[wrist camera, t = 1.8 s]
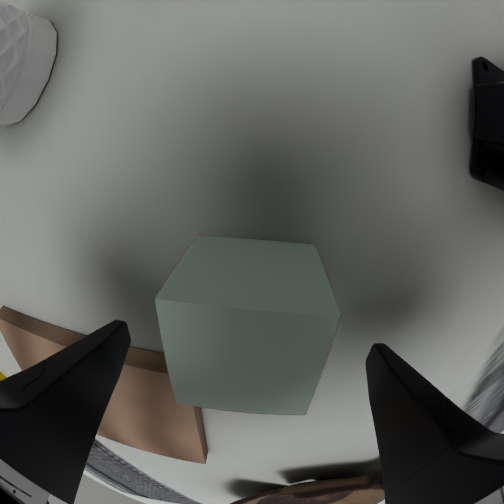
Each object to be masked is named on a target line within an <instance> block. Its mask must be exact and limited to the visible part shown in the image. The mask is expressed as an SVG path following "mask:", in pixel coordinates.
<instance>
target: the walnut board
mask: <svg viewBox="0 0 504 504" xmlns="http://www.w3.org/2000/svg"><path fill="white" fill-rule="evenodd" d="M0 331H1V333H2V335H3V337H4V339H5V341H6V343H7V345H8V347H9V348H10V350H11V352H12V354H13V356H14V357H15V359H16V361H17V363H18V364H19V366H20V368H21V369H22V371H23V370H25V369H27V368H29V367H31V366H33V365H35V364H37V363H39V362H40V361H42V360H44V359H46V358H48V357H49V356H51V355H53V354H55V353H57V352H58V351H60V350H62V349H64V348H66V347H67V346H69V345H71V344H73V343H75V342H76V341H78V340H80V339H82V338H84V337H85V336H86V335H83V334H79V333H76V332H73V331H70V330H66V329H63V328H60V327H57V326H54V325H51V324H48V323H45V322H43V321H40V320H37V319H34V318H32V317H29V316H26V315H24V314H21V313H19V312H16V311H14V310H11V309H9V308H7V307H4V306H3V307H2V308H1V309H0ZM97 435H100V436H102V437H105V438H108V439H110V440H113V441H116V442H119V443H122V444H125V445H128V446H131V447H134V448H137V449H141V450H144V451H148V452H151V453H155V454H159V455H163V456H167V457H171V458H176V459H180V460H185V461H191V462H196V463H202V464H206V459H207V454H208V449H207V444H206V438H205V432H204V426H203V420H202V414H201V407H197V406H191V405H185V404H180V403H176V402H175V398H174V394H173V390H172V386H171V381H170V377H169V373H168V368H167V364H166V359H165V354H163V353H158V352H153V351H148V350H143V349H138V348H134V347H129V349H128V352H127V355H126V359H125V362H124V365H123V368H122V371H121V374H120V377H119V380H118V382H117V384H116V387H115V389H114V391H113V394H112V396H111V399H110V401H109V403H108V406H107V408H106V411H105V413H104V416H103V418H102V421H101V423H100V426H99V429H98V431H97Z"/></svg>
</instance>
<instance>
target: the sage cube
mask: <svg viewBox="0 0 504 504" xmlns="http://www.w3.org/2000/svg"><path fill="white" fill-rule="evenodd" d="M155 303H156V310H157V316H158V322H159V328H160V333H161V339H162V344H163V349H164V354H165V359H166V364H167V368H168V373H169V377H170V381H171V386H172V390H173V394H174V398H175V402H176V403H180V404H185V405H191V406H197V407H203V408H210V409H217V410H225V411H234V412H244V413H256V414H273V415H306V413H307V410H308V408H309V405H310V403H311V400H312V398H313V395H314V393H315V390H316V388H317V385H318V382H319V379H320V377H321V374H322V371H323V368H324V366H325V363H326V360H327V357H328V354H329V351H330V348H331V345H332V342H333V339H334V336H335V332H336V329H337V326H338V323H339V319H340V316H341V314H340V311H339V308H338V305H337V303H336V300H335V297H334V294H333V291H332V288H331V286H330V283H329V280H328V277H327V275H326V272H325V269H324V267H323V264H322V261H321V259H320V256H319V254H318V251H317V248H316V246H315V245H314V244H303V243H291V242H280V241H268V240H255V239H243V238H230V237H217V236H204V235H197V236H196V238H195V239H194V240H193V242H192V243H191V245H190V246H189V248H188V249H187V251H186V252H185V254H184V255H183V256H182V258H181V259H180V261H179V262H178V264H177V265H176V267H175V268H174V270H173V271H172V273H171V274H170V276H169V277H168V279H167V280H166V282H165V284H164V285H163V287H162V288H161V290H160V291H159V293H158V294H157V296H156V297H155Z"/></svg>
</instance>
